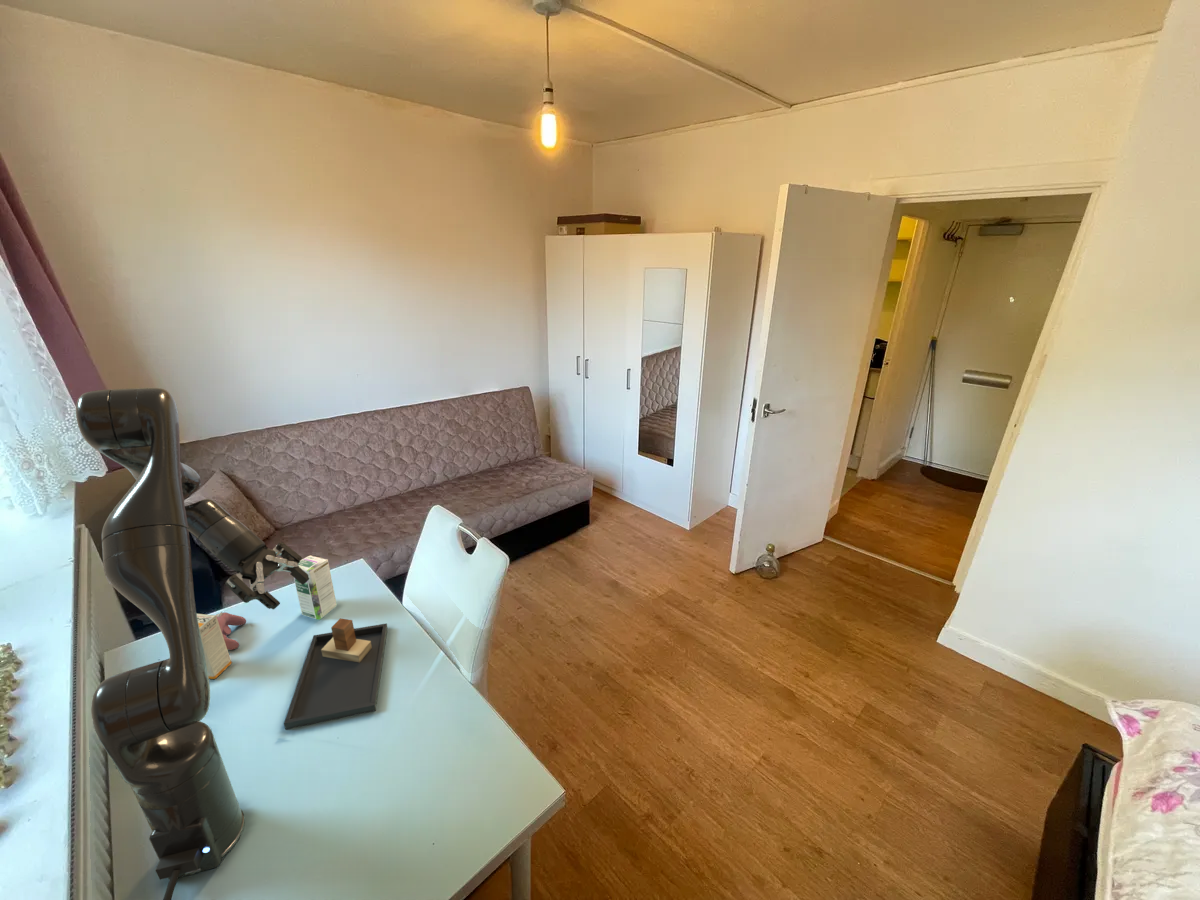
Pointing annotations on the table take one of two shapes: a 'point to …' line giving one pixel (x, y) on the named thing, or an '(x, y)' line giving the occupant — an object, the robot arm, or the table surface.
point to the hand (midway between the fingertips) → (292, 593)
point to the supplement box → (213, 645)
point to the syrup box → (316, 588)
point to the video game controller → (226, 620)
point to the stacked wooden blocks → (345, 643)
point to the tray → (337, 681)
